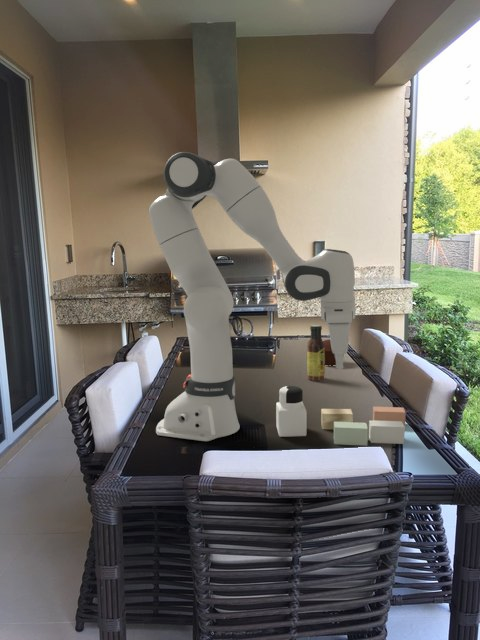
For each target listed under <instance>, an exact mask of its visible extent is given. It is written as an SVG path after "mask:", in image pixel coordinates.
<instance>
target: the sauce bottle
mask: <svg viewBox="0 0 480 640" xmlns="http://www.w3.org/2000/svg"><path fill="white" fill-rule="evenodd" d="M309 327H310V328H309V329H310V339H309V341H308V342H307V353H306V354H307V355H306V356H307V357H306V361H307V362H306V364H307V365H306V366H307V369H306V370H307V373H306V375H307V380H309V381H312V382H320V381H323V380H324V379H325V373H326V371H325V370H326V369H325V367H326V366H325V347H324V344H323V341H324V340H323V339H322V329H323V328H322V325H321V324H311V325H310V326H309Z"/></svg>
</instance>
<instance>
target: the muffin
mask: <svg viewBox="0 0 480 640" xmlns="http://www.w3.org/2000/svg"><path fill="white" fill-rule="evenodd" d="M322 341H323V344H324V347H325V365H331V366H333V365H336V359H335V354H333V352H332V348H331V341H330V338H329V339H325V340H322ZM331 366H330V367H331Z"/></svg>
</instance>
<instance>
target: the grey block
mask: <svg viewBox="0 0 480 640" xmlns="http://www.w3.org/2000/svg"><path fill="white" fill-rule="evenodd" d="M368 421H369V422H368V439H369V441H370V443H371V444H373V443H374V444H395V445H396V444H398V445H399V444H401V445H405V434H406V433H405V431H406V430H405V429H406V426H405V427H404V425H403V423H402V421H375V420H373V419H372V420H371V419H370V420H368Z"/></svg>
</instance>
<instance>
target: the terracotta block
mask: <svg viewBox="0 0 480 640" xmlns="http://www.w3.org/2000/svg"><path fill="white" fill-rule="evenodd" d="M372 420H375V421H402V423H403V425H404V427H405V428H406V410H405V408H404V407H400V406H399V407H397V406H396V407H395V406H394V407H393V406H373V407H372Z"/></svg>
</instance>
